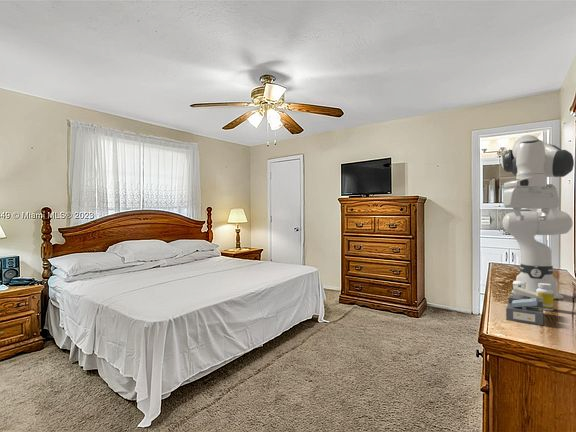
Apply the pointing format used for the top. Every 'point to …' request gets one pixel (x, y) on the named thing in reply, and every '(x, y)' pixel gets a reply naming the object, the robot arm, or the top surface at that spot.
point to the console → (525, 311)
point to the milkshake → (519, 285)
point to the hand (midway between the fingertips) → (531, 220)
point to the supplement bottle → (546, 295)
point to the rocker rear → (525, 292)
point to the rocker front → (524, 302)
